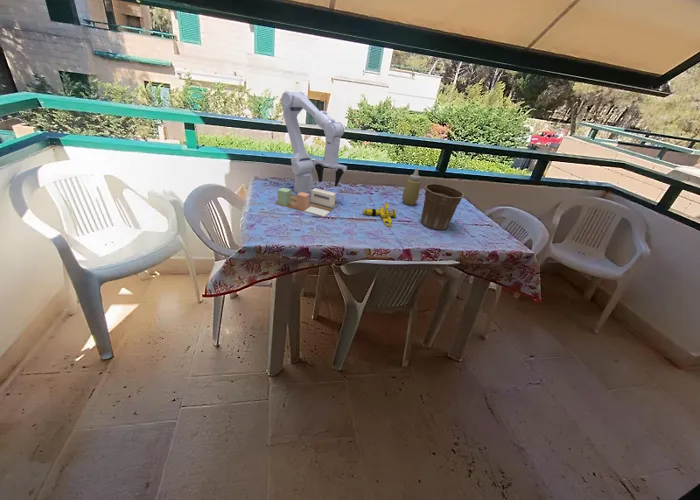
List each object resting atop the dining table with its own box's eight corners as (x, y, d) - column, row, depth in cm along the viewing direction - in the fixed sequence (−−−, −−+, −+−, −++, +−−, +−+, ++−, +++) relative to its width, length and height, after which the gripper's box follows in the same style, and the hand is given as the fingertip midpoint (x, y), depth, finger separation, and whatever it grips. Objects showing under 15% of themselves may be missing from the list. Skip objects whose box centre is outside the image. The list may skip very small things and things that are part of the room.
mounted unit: (312, 199, 148) (313, 186, 145) (337, 205, 145) (338, 193, 142) (308, 202, 144) (309, 189, 141) (333, 209, 141) (334, 196, 138)
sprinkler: (361, 198, 148) (393, 200, 151) (360, 206, 151) (391, 208, 153) (367, 221, 133) (402, 223, 135) (365, 229, 136) (400, 231, 138)
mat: (310, 207, 140) (310, 206, 139) (329, 212, 138) (329, 211, 137) (304, 211, 135) (304, 210, 134) (324, 217, 133) (324, 216, 132)
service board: (290, 195, 151) (290, 193, 150) (336, 208, 146) (337, 205, 145) (274, 205, 138) (274, 203, 138) (324, 219, 133) (324, 217, 133)
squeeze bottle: (413, 208, 160) (422, 172, 151) (398, 203, 163) (406, 167, 154) (418, 204, 166) (427, 169, 157) (404, 199, 169) (412, 165, 160)
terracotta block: (300, 205, 140) (301, 191, 137) (308, 207, 139) (309, 194, 136) (296, 208, 137) (297, 194, 134) (304, 210, 136) (305, 196, 133)
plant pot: (459, 228, 146) (470, 193, 138) (440, 236, 135) (451, 199, 127) (429, 214, 155) (438, 181, 147) (409, 221, 144) (418, 186, 137)
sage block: (282, 200, 142) (282, 187, 139) (290, 202, 141) (291, 189, 138) (277, 203, 138) (278, 190, 135) (285, 205, 137) (286, 192, 134)
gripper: (312, 150, 136) (309, 182, 142) (344, 158, 133) (340, 189, 139) (318, 148, 142) (316, 178, 148) (350, 155, 139) (345, 185, 145)
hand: (328, 183), depth 144 cm, fingers open, 7 cm apart
